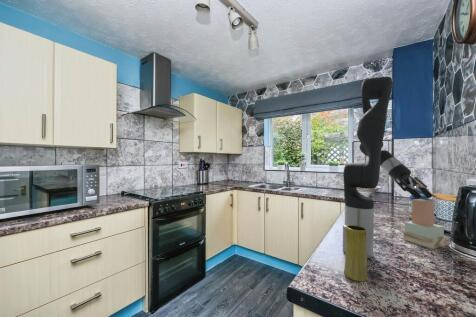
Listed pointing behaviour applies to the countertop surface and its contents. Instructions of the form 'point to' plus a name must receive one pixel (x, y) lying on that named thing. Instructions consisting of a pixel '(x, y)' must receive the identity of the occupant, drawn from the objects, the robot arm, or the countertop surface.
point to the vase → (356, 253)
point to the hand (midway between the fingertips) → (425, 197)
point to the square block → (423, 212)
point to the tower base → (425, 240)
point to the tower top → (425, 230)
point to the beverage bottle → (411, 202)
